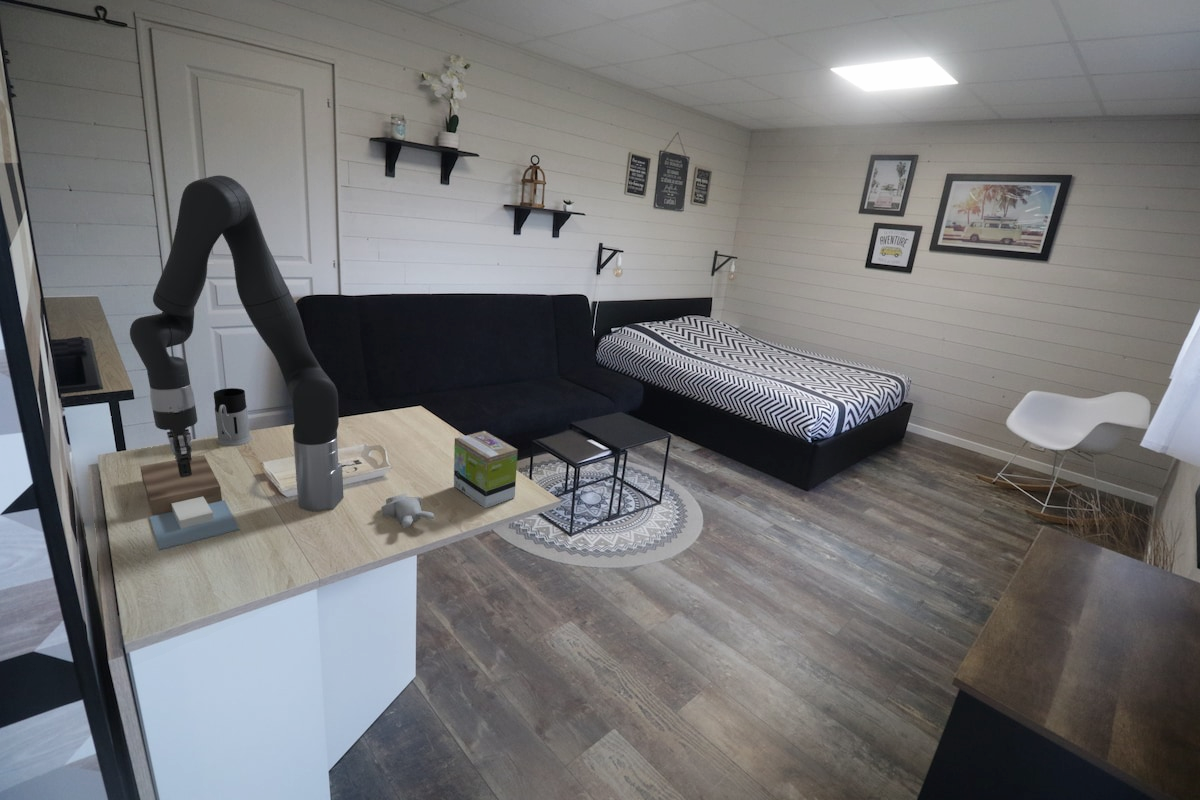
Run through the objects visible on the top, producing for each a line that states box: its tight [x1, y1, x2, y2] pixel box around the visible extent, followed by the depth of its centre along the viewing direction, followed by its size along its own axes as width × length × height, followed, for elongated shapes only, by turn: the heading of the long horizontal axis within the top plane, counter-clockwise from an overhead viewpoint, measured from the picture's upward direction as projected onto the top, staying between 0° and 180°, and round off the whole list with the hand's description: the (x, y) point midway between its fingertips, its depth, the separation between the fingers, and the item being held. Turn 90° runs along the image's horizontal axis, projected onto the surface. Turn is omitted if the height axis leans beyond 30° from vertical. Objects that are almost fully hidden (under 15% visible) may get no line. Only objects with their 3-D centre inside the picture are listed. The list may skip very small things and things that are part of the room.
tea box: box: [453, 430, 519, 509], centre depth 147 cm, size 15×10×15 cm, turn 47°
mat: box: [149, 499, 240, 551], centre depth 122 cm, size 15×14×1 cm
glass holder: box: [213, 387, 253, 447], centre depth 158 cm, size 9×14×15 cm, turn 18°
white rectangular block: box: [171, 496, 214, 529], centre depth 124 cm, size 9×6×2 cm, turn 45°
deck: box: [140, 455, 223, 516], centre depth 134 cm, size 20×13×4 cm, turn 43°
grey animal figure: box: [381, 493, 436, 528], centre depth 132 cm, size 10×5×15 cm
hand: (185, 475), depth 127 cm, fingers closed
